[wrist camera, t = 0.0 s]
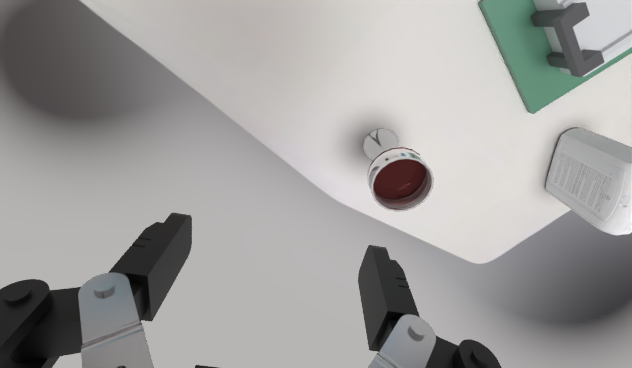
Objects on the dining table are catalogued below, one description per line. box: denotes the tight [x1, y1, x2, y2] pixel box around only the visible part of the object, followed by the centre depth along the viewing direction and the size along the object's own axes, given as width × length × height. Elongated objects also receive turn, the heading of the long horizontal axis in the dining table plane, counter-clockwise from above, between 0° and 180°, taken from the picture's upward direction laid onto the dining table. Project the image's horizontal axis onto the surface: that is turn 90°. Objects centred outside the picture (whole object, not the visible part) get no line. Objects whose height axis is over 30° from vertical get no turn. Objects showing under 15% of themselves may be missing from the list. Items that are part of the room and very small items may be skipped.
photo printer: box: [546, 128, 632, 235], centre depth 38 cm, size 10×4×12 cm, turn 7°
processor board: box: [478, 0, 632, 114], centre depth 31 cm, size 19×16×7 cm
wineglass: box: [363, 129, 434, 212], centre depth 37 cm, size 7×7×12 cm
